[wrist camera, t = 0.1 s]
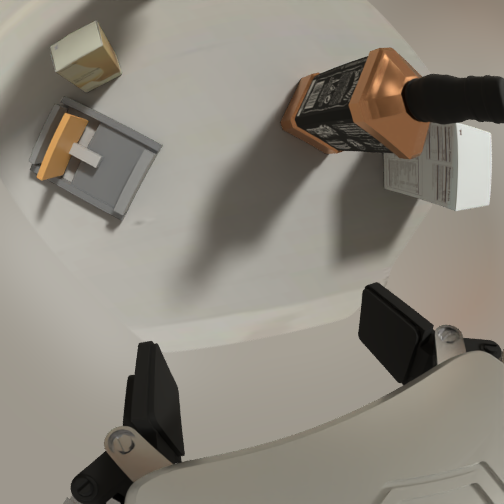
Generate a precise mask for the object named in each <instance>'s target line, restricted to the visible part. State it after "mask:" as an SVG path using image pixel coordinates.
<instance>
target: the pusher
mask: <svg viewBox="0 0 504 504" xmlns="http://www.w3.org/2000/svg"><path fill="white" fill-rule="evenodd" d="M88 122H89V121H88V120H86V119H84V118H80V117H77V116H74V115H71V114H67V113H65V114H64V116H63V118H62V120H61V122H60V124H59V126H58V128H57V130H56V132H55V134H54V136H53V138H52V140H51V142H50V145H49V147H48V149H47V152H46V154H45V156H44V159H43V161H42V164H41V166H40V169H39V172H38V174H37V177H36V178H38V179H40V180H46V179H50V178H53V177H57V176H61V175H63V174H64V172H65V169H66V167H67V165H68V162H69V160H70V158H71V156H72V155H73V156H75V157H77V158H78V159H80V160H82V161H84V162H86V163H88V164H90V165H92V166H93V167H95V168H97V167H99V165H100V163H101V161H102V159H103V157H102V156H101V155H99V154H97V153H95V152H93V151H91V150H89V149H87V148H85V147H83V146H81V145H80V144H78V141H79V139H80V137H81V135H82V133H83V131H84V129H85V127H86V126H87V124H88Z"/></svg>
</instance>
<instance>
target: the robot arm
mask: <svg viewBox="0 0 504 504" xmlns="http://www.w3.org/2000/svg"><path fill="white" fill-rule="evenodd" d="M433 326H434V325H433V324H431V323H430V322H429V321H428V320H426V319H425V318H424V317H422V316H421V315H420V314H419V313H417V312H416V311H415V310H414V309H412V308H411V307H410V306H408V305H407V304H406V303H405V302H403V301H402V300H401V299H399V298H398V297H397V296H395V295H394V294H393V293H391V292H390V291H389V290H387V289H386V288H385V287H383V286H382V285H381V284H379V283H377V282H375V283H373V284H370V285H367V286H366V287H365V289H364V290H363V293H362V304H361V314H360V324H359V332H358V336H359V339H360V340H361V341H362V343H363V344H365V346H366V347H367V348H368V349H369V350H370V351H371V353H372V354H373V355H374V356H375V357H376V358H377V359H378V360H379V362H380V363H381V364H382V365H383V366H384V367H385V368H386V369H387V370H388V372H389V373H390V374H391V375H392V376H393V377H394V378H395V379H396V381H397V382H398V383H402V384H403V386H402V387H400V388H398V389H396V390H395V391H393V392H391V393H389V394H387V395H386V396H383V397H382V398H380V399H378V400H376V401H374V402H372V403H370V404H368V405H365V406H363V407H361V408H359V409H357V410H355V411H353V412H351V413H348V414H346V415H344V416H341V417H339V418H337V419H334V420H332V421H329V422H327V423H324V424H322V425H319V426H317V427H314V428H312V429H309V430H306V431H303V432H300V433H298V434H295V435H291V436H288V437H285V438H282V439H279V440H275V441H272V442H269V443H265V444H261V445H258V446H254V447H250V448H246V449H242V450H238V451H233V452H229V453H225V454H220V455H215V456H210V457H204V458H200V459H195V460H190V461H185V462H182V461H181V456H184V454H185V452H184V443H183V435H182V425H181V416H180V403H179V392H178V387H177V385H176V382H175V380H174V378H173V376H172V374H171V372H170V370H169V368H168V366H167V363H166V361H165V359H164V357H163V355H162V352H161V350H160V347H159V345H158V344H157V343H156V344H154V343H153V342H152V341H148V342H143V343H139V345H138V352H137V359H136V368H135V375H130V376H129V377H128V380H127V388H126V397H125V407H124V416H123V426H120V427H116V428H114V429H112V430H111V431H110V432H109V433H108V434H107V436H106V438H105V441H104V447H105V450H106V451H105V452H104V453H103V454H102V455H101V456H99V457H98V458H97V459H96V460H95V461H94V462H92V463H91V464H90V465H89V466H88V467H86V468H85V469H84V470H83V471H82V472H80V473H79V474H78V475H77V476H76V477H75V478H74V479H73V480H72V483H71V492H72V497H71V498H70V499H69V498H67V499H66V500H65V502H64V504H504V349H503V351H501V348H500V347H499V345H498V344H496V343H495V342H493V341H491V340H482V339H469V338H463V336H462V333H461V332H460V331H459V329H457V328H456V327H454V326H451V325H442V326H439V327H438V328H437V329H436V330H435V331H434V330H433ZM175 463H177V464H175Z"/></svg>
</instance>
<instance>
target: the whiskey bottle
mask: <svg viewBox="0 0 504 504" xmlns="http://www.w3.org/2000/svg"><path fill="white" fill-rule="evenodd" d="M468 119H471V120H477V121H479V122H484V121H487V122H494V123H497V124H500V123H504V78H502V77H498V76H489V75H486V76H484V77H475V76H468V77H467V78H457V77H454V76H449V75H439V74H430V75H427V76H424V77H422V76H421V75H420V74H419V73H418V72H417V71H416V70H415V69H414V68H413V67H412V66H411V65H410V64H409V63H408V62H407V61H406V60H405V59H404V58H403V57H402V56H401V55H399V54H398V53H397V52H396V51H395V50H394V49H392V48H378V49H376V50H373V51H370V53H369V56H367V57H364V58H361V59H358V60H355V61H352V62H349V63H347V64H344V65H341V66H339V67H336V68H333V69H331V70H328V71H326V72H323V73H321V74H320V73H315V74H311V75H308V76H306V77H304V78H301V80H300V82H299V84H298V86H297V88H296V91H295V93H294V95H293V97H292V99H291V101H290V103H289V105H288V107H287V109H286V111H285V114H284V116H283V118H282V120H281V122H280V123H281V126H282V129H283V130H284V131H286V132H288V133H290V134H292V135H293V136H295V137H297V138H299V139H301V140H303V141H304V142H306V143H308V144H310V145H312V146H313V147H315V148H317V149H318V150H320V151H322V152H324V153H325V154H332V153H339V152H342V151H363V152H380V153H393V154H395V155H396V156H398V157H399V158H402V159H409V160H410V159H413V158H415V157H418V156H420V155H421V153H422V151H423V148H424V145H425V142H426V139H427V136H428V133H429V129H430V126H431V123H437V124H441V125H446V124H452V123H460V122H463V121H465V120H468Z"/></svg>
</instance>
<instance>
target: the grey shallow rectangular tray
mask: <svg viewBox="0 0 504 504" xmlns="http://www.w3.org/2000/svg"><path fill="white" fill-rule="evenodd" d="M61 102H62V103H64V104H66V105H68V106H70V107H72V108H74V109H76V110H78V111H80V112H83V113H85V114H87V115H89V116H91V117H93V118H95V119H97V120H99V121H101V123H100V125H99V126H98V128H97V130H96V132H95V134H94V136H93V138H92V139H91V141H90V143H89V145H88V147H87V149H89V150H91V151H93V152H95V153H97V154H99V155H101V156H102V157H103V159H102V161H101V163H100V165H99V167H97V168H95V167H93V166H92V165H90V164H88V163H86V162H84V161H82V160H81V162H80V164H79V166H78V169H77V171H76V173H75V175H74V178H73V180H72V182H70V181H68V180H66V179H64V178H62V177H61V176H57V177H53V178H50V179H47V180H49V181H50V182H52V183H54V184H56V185H57V186H59V187H61V188H63V189H65V190H66V191H68V192H70V193H72V194H73V195H75V196H77V197H79V198H81V199H83V200H84V201H86V202H88V203H90V204H92V205H94V206H95V207H97V208H99V209H101V210H103V211H105V212H107V213H108V214H110V215H112V216H114V217H116V218H118V219H120V220H123V219H124V217H125V215H126V213H127V211H128V209H129V207H130V205H131V203H132V201H133V199H134V197H135V195H136V193H137V191H138V189H139V187H140V185H141V183H142V181H143V180H144V178H145V176H146V174H147V172H148V170H149V168H150V167H151V165H152V163H153V161H154V160H155V158H156V156H157V154H158V153H159V151H160V149H161V148H162V146H163V145H161V144H159V143H157V142H155V141H154V140H152V139H150V138H148V137H146V136H144V135H142V134H140V133H138V132H137V131H135V130H133V129H131V128H129V127H127V126H125V125H123V124H121V123H119V122H117V121H115V120H113V119H111V118H109V117H107V116H105V115H103V114H101V113H99V112H97V111H95V110H93V109H91V108H89V107H87V106H85V105H82V104H80V103H78V102H76V101H74V100H72V99H70V98H67V97H65V96H64V97H63V99H62V100H61ZM67 110H68V109H67V108H65V107H63V106H60V105H57V104H54V106H53V108H52V110H51V112H50V114H49V116H48V118H47V120H46V122H45V124H44V126H43V128H42V131H41V133H40V135H39V137H38V140H37V142H36V144H35V147H34V149H33V152H32V154H31V157H30V159H29V162H31V163H33V164H32V166H31V168H30V170H31V171H33V172H35V173H36V174H38V172H39V169H40V166H41V165H39V163H42V161H43V159H44V156H45V154H46V152H47V149H48V147H49V145H50V142H51V140H52V138H53V136H54V134H55V132H56V130H57V128H58V126H59V124H60V122H61V120H62V118H63V116H64V114H65V113H66V112H67Z"/></svg>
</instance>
